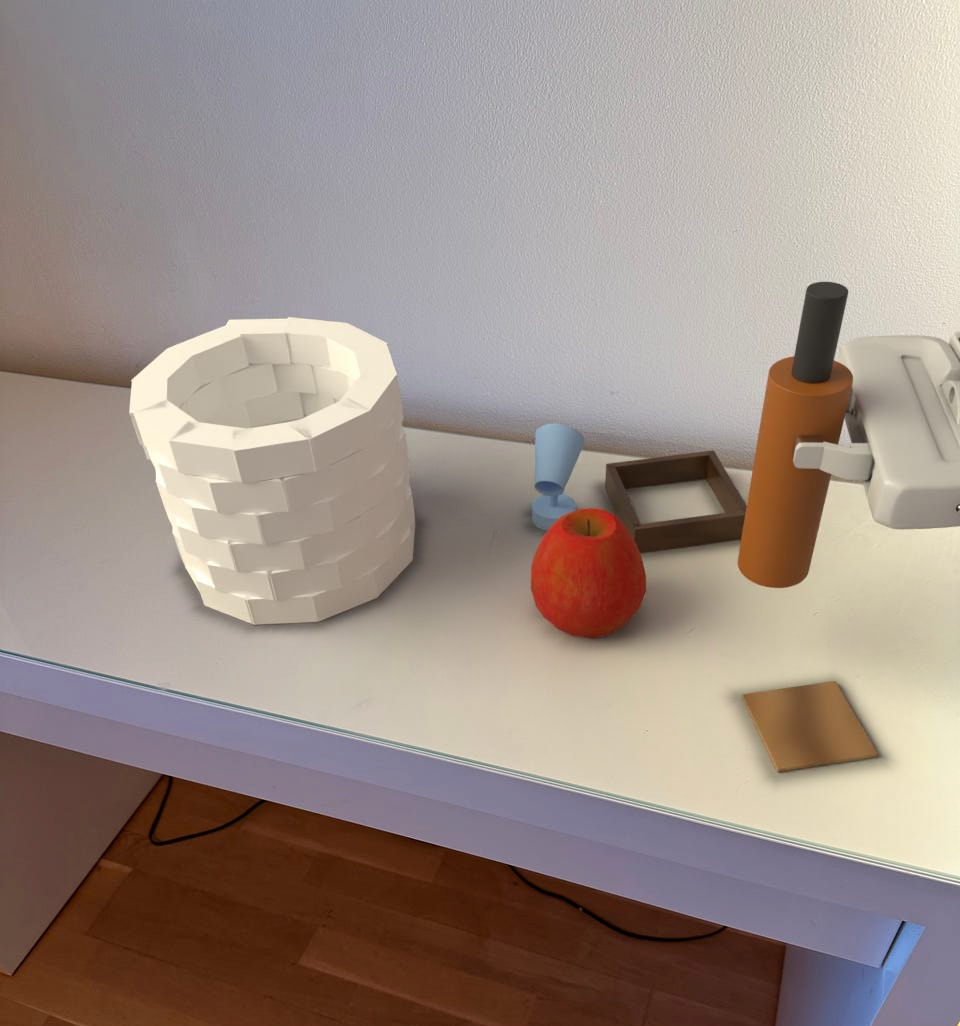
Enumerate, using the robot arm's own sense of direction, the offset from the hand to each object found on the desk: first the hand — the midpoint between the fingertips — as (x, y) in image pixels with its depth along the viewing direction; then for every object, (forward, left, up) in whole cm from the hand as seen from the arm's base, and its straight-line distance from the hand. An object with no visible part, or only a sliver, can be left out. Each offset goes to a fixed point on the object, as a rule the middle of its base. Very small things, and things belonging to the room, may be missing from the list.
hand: (788, 424), depth 69 cm
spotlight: (+13, -22, -22) cm, 34 cm away
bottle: (-1, 0, -13) cm, 13 cm away
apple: (+13, -7, -22) cm, 26 cm away
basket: (+39, -23, -22) cm, 50 cm away
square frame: (+1, -20, -22) cm, 30 cm away
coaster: (-1, +10, -22) cm, 24 cm away
